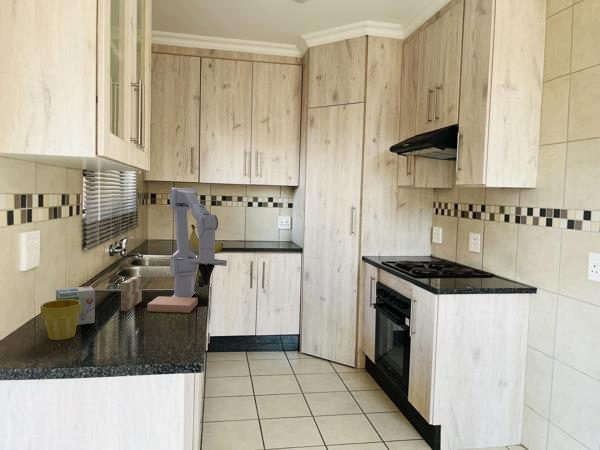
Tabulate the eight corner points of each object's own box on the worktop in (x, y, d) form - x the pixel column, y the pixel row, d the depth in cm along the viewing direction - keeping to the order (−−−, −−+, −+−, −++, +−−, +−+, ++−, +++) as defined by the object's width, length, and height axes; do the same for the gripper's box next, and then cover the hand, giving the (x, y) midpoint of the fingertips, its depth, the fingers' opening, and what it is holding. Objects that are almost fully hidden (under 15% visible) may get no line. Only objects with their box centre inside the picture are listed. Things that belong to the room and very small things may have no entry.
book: (158, 304, 171) (158, 296, 171) (197, 305, 171) (197, 297, 171) (147, 312, 159) (147, 304, 159) (189, 313, 159) (189, 305, 159)
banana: (222, 252, 316) (223, 224, 314) (223, 253, 310) (223, 225, 309) (189, 252, 310) (189, 224, 308) (189, 254, 304) (190, 224, 303)
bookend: (136, 300, 173) (136, 275, 172) (141, 300, 173) (141, 275, 172) (120, 310, 158) (121, 282, 157) (126, 311, 158) (126, 283, 157)
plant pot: (35, 343, 123) (35, 308, 122) (47, 331, 133) (47, 299, 132) (76, 341, 125) (76, 307, 125) (85, 330, 135) (85, 298, 135)
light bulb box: (58, 327, 137) (58, 293, 137) (55, 322, 143) (54, 288, 142) (95, 322, 144) (95, 289, 143) (91, 317, 149) (91, 285, 148)
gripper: (184, 248, 159) (183, 286, 160) (224, 249, 159) (224, 287, 160) (189, 246, 167) (188, 282, 167) (228, 247, 167) (227, 283, 167)
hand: (206, 284), depth 164 cm, fingers closed
